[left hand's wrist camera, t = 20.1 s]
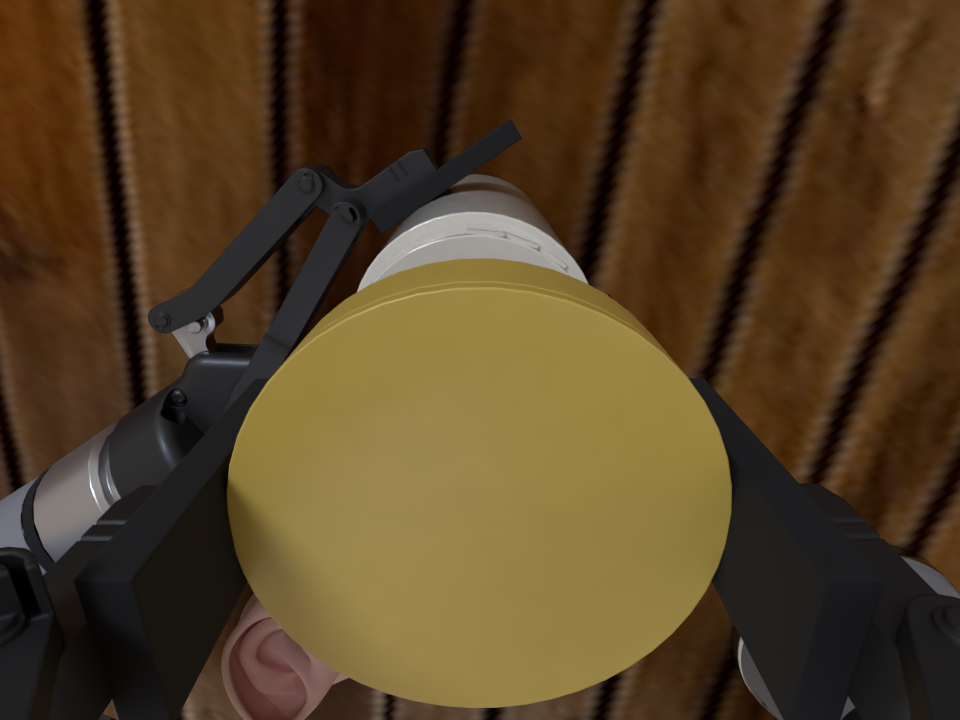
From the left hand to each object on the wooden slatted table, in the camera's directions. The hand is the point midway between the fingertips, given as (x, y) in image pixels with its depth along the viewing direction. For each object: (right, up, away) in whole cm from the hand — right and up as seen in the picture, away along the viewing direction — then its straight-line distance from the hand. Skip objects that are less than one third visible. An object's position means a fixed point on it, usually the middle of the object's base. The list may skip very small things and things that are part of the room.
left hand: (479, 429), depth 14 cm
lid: (0, -1, -3) cm, 3 cm away
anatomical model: (-11, -17, +27) cm, 34 cm away
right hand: (+4, +7, +10) cm, 13 cm away
